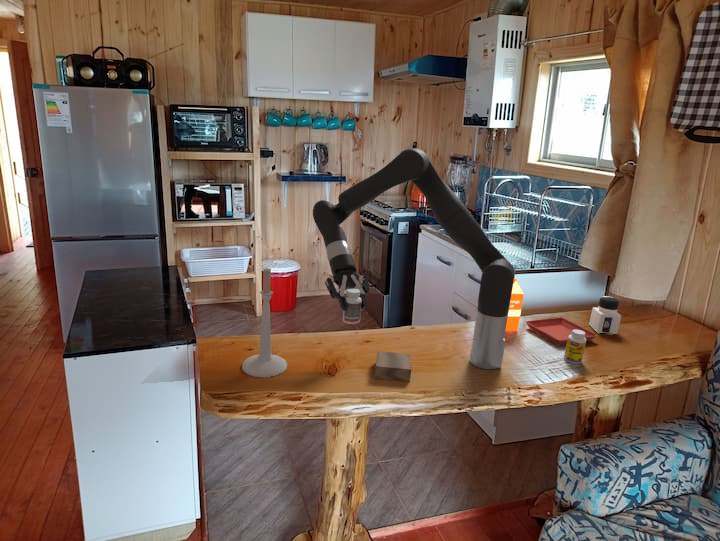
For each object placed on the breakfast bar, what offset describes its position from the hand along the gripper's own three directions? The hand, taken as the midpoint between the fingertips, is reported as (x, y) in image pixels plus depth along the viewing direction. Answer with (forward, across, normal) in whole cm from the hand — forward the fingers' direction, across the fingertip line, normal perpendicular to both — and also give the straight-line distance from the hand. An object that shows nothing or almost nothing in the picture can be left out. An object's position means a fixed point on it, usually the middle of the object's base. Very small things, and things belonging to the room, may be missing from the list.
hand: (354, 308), depth 156 cm
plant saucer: (+17, +82, +8) cm, 84 cm away
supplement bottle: (+29, +69, -4) cm, 75 cm away
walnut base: (+20, +8, +4) cm, 22 cm away
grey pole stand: (+9, -26, +15) cm, 31 cm away
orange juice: (+8, +66, +17) cm, 68 cm away
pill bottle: (+2, 0, +5) cm, 5 cm away
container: (+18, +102, +7) cm, 104 cm away
